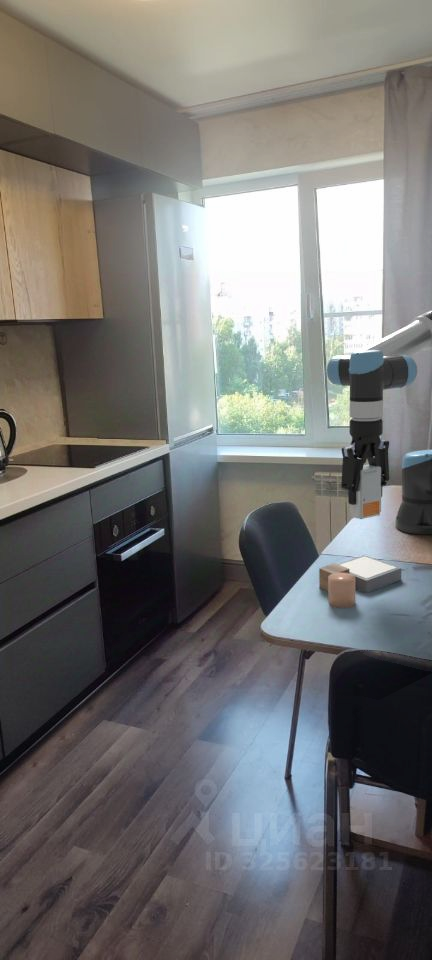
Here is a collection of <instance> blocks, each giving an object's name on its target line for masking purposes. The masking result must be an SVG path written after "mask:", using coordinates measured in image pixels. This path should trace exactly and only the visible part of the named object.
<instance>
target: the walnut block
mask: <svg viewBox="0 0 432 960" xmlns="http://www.w3.org/2000/svg"><path fill="white" fill-rule="evenodd" d="M338 564H339V563H330V564H328V565H325V566H321V567H319V568H318V571H319V572H318V576H319V578H318V579H319V581H318V582H319V583H318V585H319V586H318V587H319V588H320V589H322V590H325V592H326V591H327V592H328V576H329V575H331V574H333V573H349V568H346V567H343V566H341V565H338ZM349 574H350V573H349Z"/></svg>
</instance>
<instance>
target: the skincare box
mask: <svg viewBox="0 0 432 960" xmlns="http://www.w3.org/2000/svg"><path fill="white" fill-rule="evenodd" d="M353 486H354V485H353ZM358 491H361V500H360V518H358V520H359V519H360V520H364V519H369V518H373V517H377V516H378V517H379V516H380V515H381V512H380V496H381V467H379V466H373V465H369V463H368V464H364V465H363V470H361V471H360V483H359V487H358Z"/></svg>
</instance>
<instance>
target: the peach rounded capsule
mask: <svg viewBox="0 0 432 960" xmlns="http://www.w3.org/2000/svg"><path fill="white" fill-rule="evenodd" d="M327 593H328V596H327V597H328V601H327V602H328V604H329V605H330V606H331V607H334V608H339V609H346V608H351V607H353V606H355V605H356V588H355V576H354V575H352V574H349V573H333V574H331V575H329V576H328V591H327Z"/></svg>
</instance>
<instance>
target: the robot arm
mask: <svg viewBox="0 0 432 960" xmlns="http://www.w3.org/2000/svg"><path fill="white" fill-rule="evenodd" d="M431 349H432V310H429V311H426V312H424V313H422V314H420V315H418V316H416V317H415V318H413V319H412V320H410V322H409V323H408V325H407V326H404V327H403V328H400V329H399V330H397V331H395V332H393V333H391V334H389V335H386V336H385V337H382V338H381V339H378V340H377V341H375V342H373V343H370V344H369V345H367V346H364V347H363V348H360V349H359V350H356V351H352V352H351V353H350V354H347V355H346V354H341V355H334V356H333V357H331V358H330V359H329V361H328V363H327V366H326V373H327V374H326V375H327V379H328V381H329V382H330V383H331V384H333V385H337V386H342V387H349V417H350V418H351V419H349V435H350V436H351V442H350V445H348V446H347V447H345V446H342V448H341V454H342V468H341V470H342V471H341V482H340V483H341V485H340V488H341V489H343V490H347V491H348V492H347V494H348V496H347V498H348V504H349V517H352V518H355V519H359V518H360V500H361V491H358V487H359V483H360V471H361V470H363V465H366V463H367V462H368V464H369V465H373V466H379V467H381V496H380V513H382V498H383V488H384V487H385V486H386V485H387V482H389V480H390V469H389V468H390V466H389V465H390V464H389V449H390V448H389V447H390V440H385V439H381V436H382V435H383V429H384V427H383V426H384V425H383V423H384V422H383V421H384V420H383V419H382V418H383V416H384V399H383V398H384V396H383V395H384V390H391V389H402V388H404V387H407V386H409V385H411V384H413V382H415V381H416V379H417V375H418V367H417V363H416V361H415V360H414V359H413V357H412V355H415V354H416V353H419V352H420V351H429V350H431ZM401 465H402V466H401V474H402V475H401V503H400V505H399V508H398V511H397V513H396V517H395V524H394V525H395V528H396V529H398V530H399V531H402V532H404V533H408V534H414V535H432V449H422V450H414V451H409V452H407V453H406V454H405V455H403V458H402V464H401ZM353 485H354V486H353Z"/></svg>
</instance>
